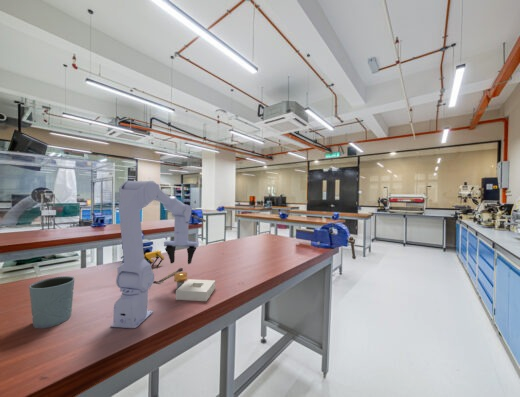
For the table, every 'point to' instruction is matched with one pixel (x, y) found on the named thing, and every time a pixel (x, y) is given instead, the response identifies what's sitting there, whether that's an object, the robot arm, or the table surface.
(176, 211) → the robot arm
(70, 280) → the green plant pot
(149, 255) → the robot dog
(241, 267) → the table surface
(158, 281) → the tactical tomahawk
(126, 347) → the table surface
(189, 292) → the pin block
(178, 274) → the brass door knob
